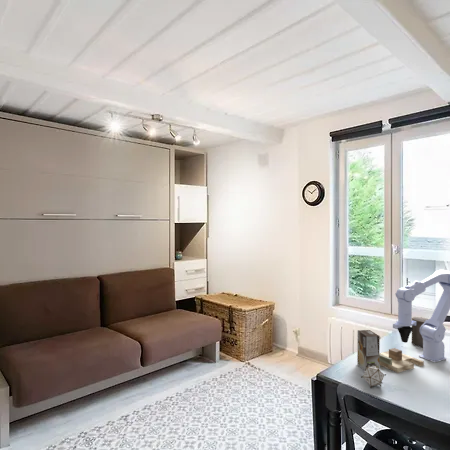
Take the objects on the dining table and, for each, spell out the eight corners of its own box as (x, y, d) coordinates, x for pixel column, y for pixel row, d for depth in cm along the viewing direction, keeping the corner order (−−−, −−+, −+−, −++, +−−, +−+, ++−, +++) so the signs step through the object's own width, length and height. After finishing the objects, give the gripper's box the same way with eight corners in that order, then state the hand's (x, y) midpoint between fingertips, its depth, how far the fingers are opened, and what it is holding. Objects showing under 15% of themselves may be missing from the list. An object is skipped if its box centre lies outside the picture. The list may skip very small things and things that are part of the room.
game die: (378, 396, 139) (390, 383, 133) (357, 387, 141) (368, 373, 135) (378, 378, 146) (389, 364, 140) (358, 369, 148) (368, 355, 142)
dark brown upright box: (410, 344, 189) (410, 317, 189) (412, 340, 197) (413, 313, 197) (431, 349, 184) (431, 320, 184) (432, 343, 192) (433, 316, 192)
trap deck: (393, 354, 176) (393, 345, 176) (423, 365, 161) (423, 355, 161) (367, 360, 167) (367, 350, 167) (397, 372, 153) (397, 362, 153)
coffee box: (380, 372, 153) (380, 336, 153) (366, 373, 153) (366, 336, 153) (369, 364, 162) (370, 329, 162) (356, 364, 162) (356, 329, 162)
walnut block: (394, 356, 167) (394, 348, 167) (402, 359, 163) (402, 350, 163) (388, 357, 165) (388, 349, 165) (396, 360, 162) (396, 352, 162)
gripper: (407, 310, 174) (406, 337, 174) (387, 313, 168) (386, 341, 168) (420, 313, 168) (420, 341, 168) (400, 316, 161) (400, 346, 161)
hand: (404, 341), depth 167 cm, fingers closed
